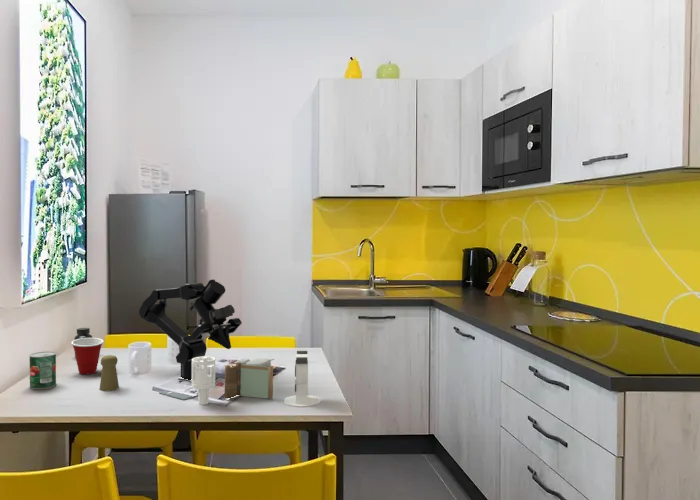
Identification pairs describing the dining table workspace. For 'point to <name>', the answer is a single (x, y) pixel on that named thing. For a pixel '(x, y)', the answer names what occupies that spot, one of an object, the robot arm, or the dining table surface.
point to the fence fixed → (232, 380)
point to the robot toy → (255, 362)
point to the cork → (109, 373)
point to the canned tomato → (42, 370)
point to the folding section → (257, 381)
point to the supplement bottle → (83, 333)
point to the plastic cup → (87, 354)
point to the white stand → (301, 384)
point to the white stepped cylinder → (203, 377)
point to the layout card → (176, 395)
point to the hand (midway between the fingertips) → (229, 348)
